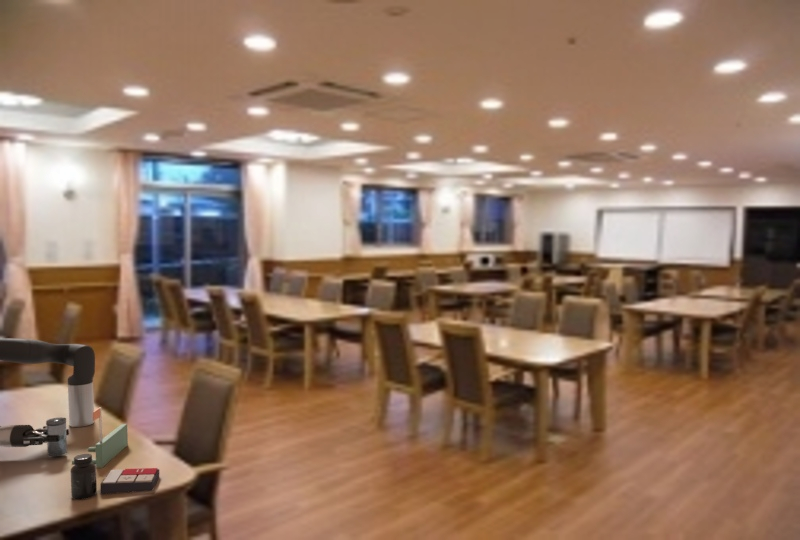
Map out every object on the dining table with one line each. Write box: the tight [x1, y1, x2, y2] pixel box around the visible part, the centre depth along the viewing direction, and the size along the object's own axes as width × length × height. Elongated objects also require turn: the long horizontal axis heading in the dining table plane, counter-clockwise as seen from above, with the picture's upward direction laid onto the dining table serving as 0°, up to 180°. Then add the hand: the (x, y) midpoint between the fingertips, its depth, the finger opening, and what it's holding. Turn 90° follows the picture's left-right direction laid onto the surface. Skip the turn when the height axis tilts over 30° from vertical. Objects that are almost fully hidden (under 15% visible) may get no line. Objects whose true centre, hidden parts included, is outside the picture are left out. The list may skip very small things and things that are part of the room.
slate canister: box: [45, 416, 68, 457], centre depth 215 cm, size 6×6×12 cm
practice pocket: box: [71, 407, 129, 469], centre depth 214 cm, size 25×12×20 cm, turn 3°
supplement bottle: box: [70, 453, 98, 501], centre depth 184 cm, size 7×7×12 cm
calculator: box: [99, 467, 160, 496], centre depth 191 cm, size 11×4×15 cm
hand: (63, 435), depth 215 cm, fingers closed on slate canister, 6 cm apart
